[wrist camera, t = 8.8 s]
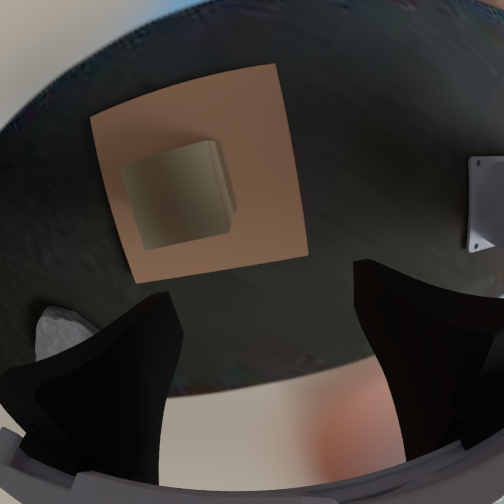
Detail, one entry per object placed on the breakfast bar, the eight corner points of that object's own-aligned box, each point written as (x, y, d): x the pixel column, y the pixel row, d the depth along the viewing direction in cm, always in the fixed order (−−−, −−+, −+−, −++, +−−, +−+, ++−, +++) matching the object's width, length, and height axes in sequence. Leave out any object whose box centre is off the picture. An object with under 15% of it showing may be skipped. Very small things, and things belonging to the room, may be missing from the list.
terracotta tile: (273, 71, 15) (275, 63, 13) (303, 244, 20) (308, 255, 18) (104, 118, 16) (90, 117, 14) (145, 271, 21) (136, 283, 19)
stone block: (55, 286, 23) (49, 358, 25) (30, 303, 18) (30, 380, 20) (158, 333, 25) (138, 401, 27) (147, 361, 21) (129, 429, 22)
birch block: (222, 141, 15) (205, 140, 11) (237, 206, 17) (228, 233, 12) (157, 158, 16) (119, 167, 11) (174, 221, 17) (145, 250, 12)
